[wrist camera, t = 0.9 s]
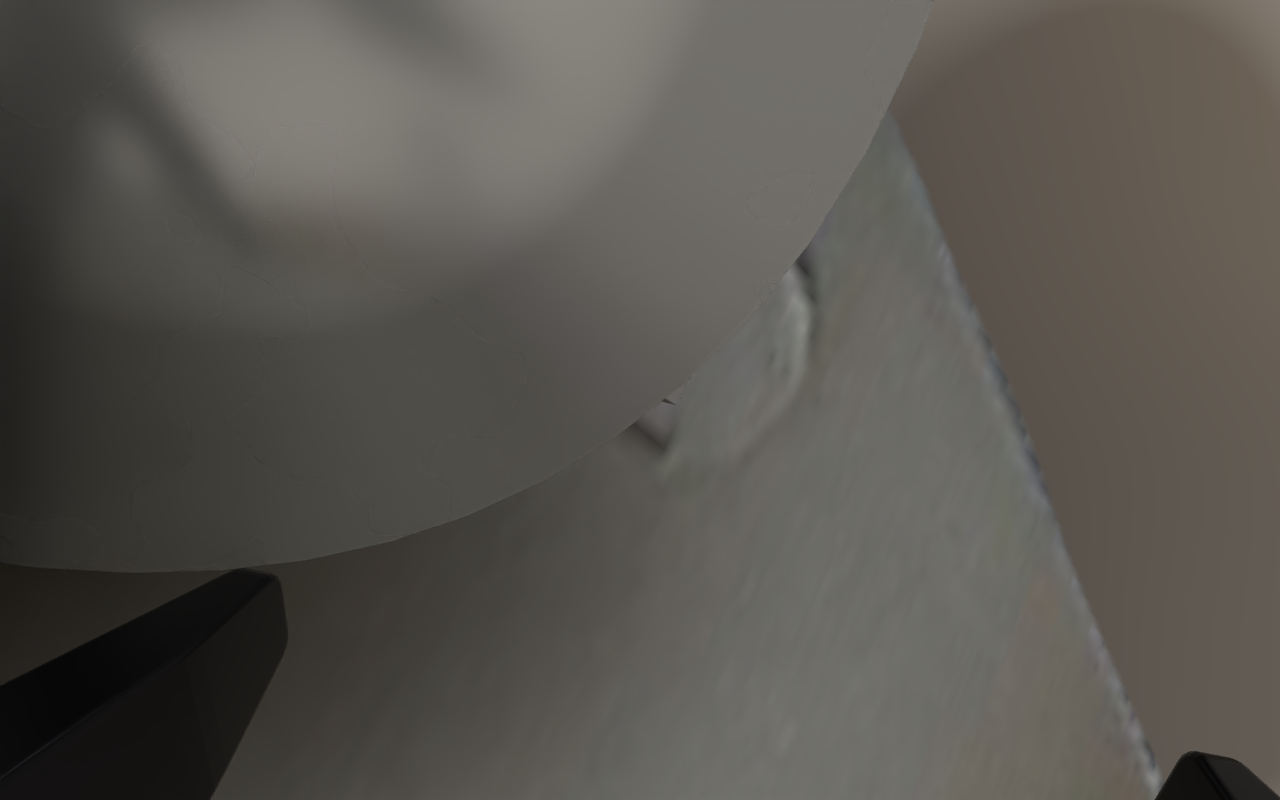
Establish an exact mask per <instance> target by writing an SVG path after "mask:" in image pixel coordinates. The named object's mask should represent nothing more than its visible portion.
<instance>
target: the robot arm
mask: <svg viewBox="0 0 1280 800" xmlns="http://www.w3.org/2000/svg"><path fill="white" fill-rule="evenodd" d="M287 641H288V627H287V620H286V613H285V606H284V599H283V592H282V586H281V582H280V580H279V579H278V577H277V576H276V575H273V574H272V573H267V572H261V571H256V570H251V569H246V568H239V569H235V570H233V571H230V572H228V573H226V574H224V575H222V576H220V577H218V578H216V579H214V580H212V581H210V582H208V583H206V584H204V585H202V586H200V587H198V588H196V589H194V590H192V591H190V592H188V593H186V594H184V595H182V596H180V597H178V598H176V599H174V600H172V601H170V602H168V603H166V604H164V605H162V606H160V607H158V608H156V609H154V610H152V611H150V612H147V613H145V614H143V615H141V616H139V617H137V618H135V619H133V620H131V621H129V622H127V623H125V624H123V625H121V626H119V627H117V628H115V629H113V630H111V631H109V632H107V633H105V634H103V635H101V636H99V637H97V638H95V639H93V640H91V641H89V642H87V643H85V644H83V645H81V646H79V647H77V648H75V649H73V650H71V651H69V652H67V653H65V654H63V655H61V656H59V657H57V658H55V659H53V660H51V661H49V662H47V663H45V664H43V665H41V666H39V667H37V668H35V669H33V670H31V671H29V672H27V673H25V674H23V675H21V676H19V677H17V678H15V679H13V680H11V681H9V682H7V683H5V684H3V685H1V686H0V800H210V799H211V797H212V795H213V794H214V792H215V790H216V788H217V787H218V785H219V783H220V781H221V779H222V777H223V775H224V773H225V771H226V770H227V768H228V766H229V764H230V762H231V760H232V758H233V756H234V754H235V752H236V750H237V748H238V746H239V743H240V741H241V739H242V737H243V735H244V733H245V731H246V729H247V727H248V725H249V723H250V721H251V719H252V717H253V715H254V713H255V711H256V709H257V707H258V705H259V703H260V701H261V699H262V697H263V695H264V693H265V691H266V689H267V687H268V685H269V683H270V681H271V679H272V677H273V675H274V673H275V671H276V669H277V667H278V665H279V663H280V661H281V659H282V657H283V655H284V652H285V649H286V645H287ZM1155 800H1280V797H1279V796H1278V795H1277V794H1276V793H1275V792H1274V791H1272V789H1270V788H1269V787H1268V786H1267V785H1266V784H1265V783H1264V782H1263V781H1262V780H1261V779H1259V778H1258V777H1257V776H1256V775H1255V774H1254V773H1253V772H1251V770H1249V769H1248V768H1247V767H1246V766H1245V765H1243V764H1242V763H1241V762H1239V761H1237V760H1235V759H1232V758H1229V757H1224V756H1219V755H1214V754H1209V753H1204V752H1198V751H1190V752H1187V753H1186V754H1184V755H1182V756H1181V758H1180V759H1179V760H1178V762H1177V763H1176V765H1175V767H1174V768H1173V770H1172V772H1171V773H1170V775H1169V777H1168V779H1167V780H1166V782H1165V783H1164V785H1163V787H1162V788H1161V790H1160V792H1159V793H1158V795H1157V797H1156V798H1155Z"/></svg>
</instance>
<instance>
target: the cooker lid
mask: <svg viewBox="0 0 1280 800" xmlns="http://www.w3.org/2000/svg"><path fill="white" fill-rule="evenodd" d="M933 1H934V0H0V563H7V564H14V565H21V566H28V567H36V568H53V569H71V570H88V571H105V572H123V573H149V572H183V571H218V570H230V569H238V568H246V567H254V566H262V565H271V564H279V563H287V562H295V561H304V560H310V559H315V558H319V557H324V556H328V555H333V554H337V553H342V552H346V551H351V550H355V549H360V548H364V547H369V546H373V545H378V544H382V543H387V542H391V541H394V540H397V539H400V538H403V537H406V536H409V535H412V534H415V533H418V532H421V531H424V530H427V529H430V528H433V527H436V526H439V525H442V524H445V523H448V522H451V521H454V520H457V519H460V518H463V517H466V516H469V515H471V514H473V513H475V512H477V511H479V510H482V509H484V508H486V507H488V506H490V505H492V504H495V503H497V502H499V501H501V500H503V499H505V498H508V497H510V496H512V495H514V494H516V493H518V492H521V491H523V490H525V489H527V488H529V487H531V486H534V485H536V484H538V483H540V482H542V481H544V480H546V479H547V478H549V477H551V476H552V475H554V474H556V473H557V472H559V471H561V470H562V469H564V468H566V467H567V466H569V465H571V464H572V463H574V462H575V461H577V460H579V459H580V458H582V457H584V456H585V455H587V454H589V453H590V452H592V451H594V450H595V449H597V448H599V447H600V446H602V445H604V444H605V443H607V442H608V441H610V440H612V439H613V438H615V437H616V436H618V435H619V434H620V433H621V432H623V431H624V430H625V429H626V428H628V427H629V426H630V425H632V424H633V423H634V422H635V421H637V420H638V419H639V418H641V417H642V416H643V415H644V414H646V413H647V412H648V411H650V410H651V409H652V408H653V407H655V406H656V405H657V404H659V403H660V402H661V401H662V400H664V399H665V398H666V397H668V396H669V395H670V394H671V393H673V392H674V391H675V390H677V389H678V388H679V387H680V386H682V385H683V384H684V383H685V382H686V381H687V380H688V379H689V378H690V377H691V376H692V375H693V374H694V373H695V372H696V371H697V370H698V369H699V368H700V367H701V366H702V365H703V364H704V363H705V362H706V361H707V360H708V359H709V358H710V357H711V356H712V355H713V354H714V353H715V352H716V351H717V350H718V349H719V348H720V347H721V346H722V345H723V344H724V343H725V342H726V341H727V340H728V339H729V338H730V337H731V336H732V335H734V334H735V333H736V332H737V331H738V330H739V329H740V328H741V327H742V326H743V325H744V324H745V323H746V322H747V321H748V319H749V318H750V317H751V316H752V314H753V313H754V312H755V311H756V309H757V308H758V307H759V306H760V304H761V303H762V302H763V301H764V299H765V298H766V297H767V296H768V294H769V293H770V292H771V291H772V289H773V288H774V287H775V286H776V284H777V283H778V282H779V281H780V279H781V278H782V277H783V276H784V274H785V273H786V272H787V271H788V269H789V268H790V267H791V266H792V264H793V263H794V262H795V261H796V259H797V258H798V257H799V256H800V254H801V253H802V252H803V251H804V249H805V248H806V247H807V246H808V244H809V243H810V241H811V240H812V238H813V237H814V235H815V233H816V232H817V230H818V229H819V227H820V225H821V224H822V222H823V221H824V219H825V217H826V216H827V214H828V213H829V211H830V209H831V208H832V206H833V205H834V203H835V201H836V200H837V198H838V197H839V195H840V193H841V192H842V190H843V189H844V187H845V185H846V184H847V182H848V181H849V179H850V177H851V176H852V174H853V173H854V171H855V169H856V168H857V166H858V165H859V163H860V161H861V160H862V158H863V157H864V155H865V153H866V152H867V150H868V148H869V145H870V143H871V141H872V139H873V137H874V135H875V133H876V131H877V129H878V127H879V125H880V123H881V120H882V118H883V116H884V114H885V112H886V110H887V108H888V106H889V104H890V102H891V100H892V97H893V95H894V93H895V91H896V89H897V87H898V85H899V83H900V81H901V79H902V77H903V74H904V72H905V70H906V68H907V66H908V64H909V62H910V60H911V58H912V56H913V54H914V52H915V50H916V47H917V45H918V43H919V41H920V38H921V34H922V32H923V29H924V26H925V24H926V21H927V18H928V15H929V12H930V9H931V7H932V4H933Z"/></svg>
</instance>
